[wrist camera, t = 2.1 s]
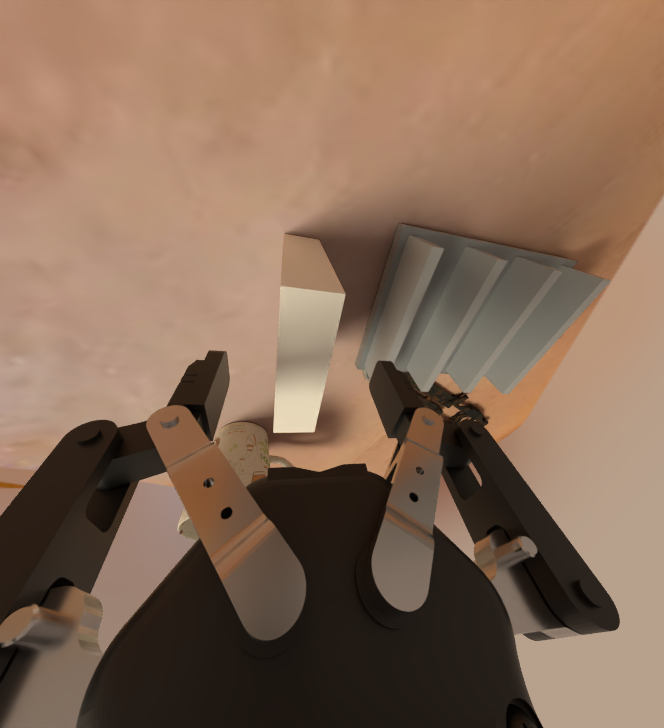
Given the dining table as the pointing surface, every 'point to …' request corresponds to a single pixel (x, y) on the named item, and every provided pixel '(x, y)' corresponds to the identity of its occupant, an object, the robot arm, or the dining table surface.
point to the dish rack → (470, 309)
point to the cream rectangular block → (304, 333)
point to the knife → (445, 402)
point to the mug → (240, 460)
